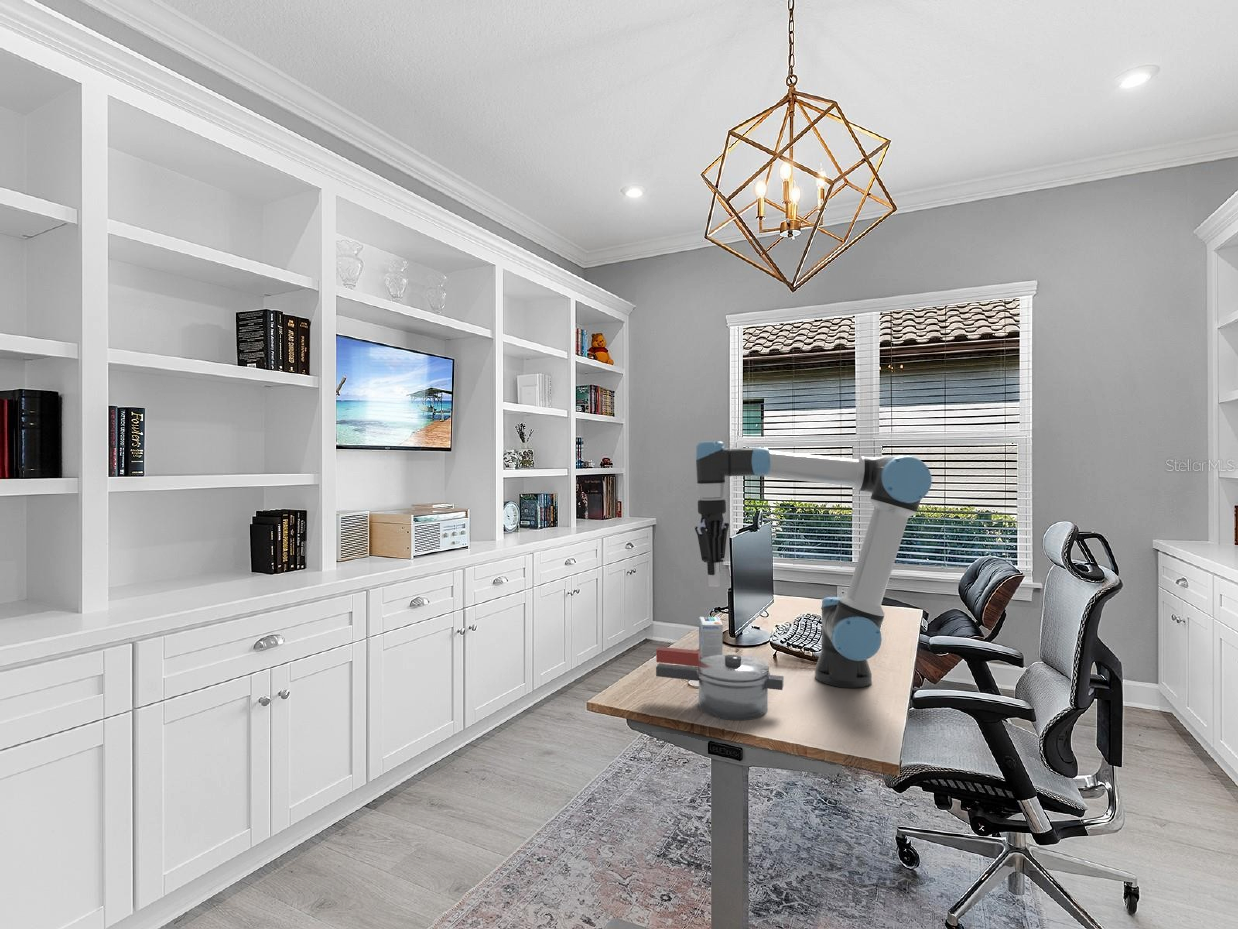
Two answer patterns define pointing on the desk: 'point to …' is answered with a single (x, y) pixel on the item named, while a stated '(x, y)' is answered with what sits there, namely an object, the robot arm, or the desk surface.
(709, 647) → the light bulb box
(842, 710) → the desk surface
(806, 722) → the desk surface
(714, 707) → the cooker pot
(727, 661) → the lid
